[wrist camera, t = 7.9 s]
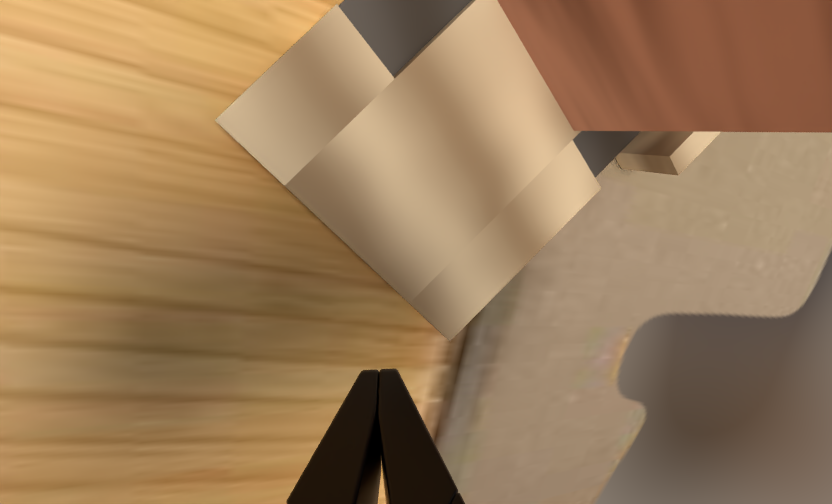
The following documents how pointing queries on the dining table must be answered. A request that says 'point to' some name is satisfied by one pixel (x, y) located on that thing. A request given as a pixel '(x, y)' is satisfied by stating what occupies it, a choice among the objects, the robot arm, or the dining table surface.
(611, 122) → the block
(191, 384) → the dining table surface
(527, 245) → the shallow open box
